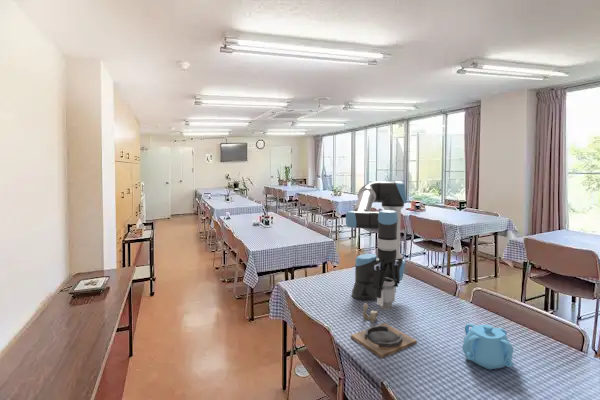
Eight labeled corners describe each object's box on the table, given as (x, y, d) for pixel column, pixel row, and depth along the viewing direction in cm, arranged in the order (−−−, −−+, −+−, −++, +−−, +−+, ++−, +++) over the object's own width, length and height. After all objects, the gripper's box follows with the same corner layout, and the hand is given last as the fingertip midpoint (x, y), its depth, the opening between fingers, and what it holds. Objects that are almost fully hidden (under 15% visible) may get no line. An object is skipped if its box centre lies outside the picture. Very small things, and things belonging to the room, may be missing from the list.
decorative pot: (513, 379, 112) (516, 342, 111) (461, 366, 120) (463, 330, 119) (509, 355, 127) (512, 321, 125) (463, 345, 134) (465, 313, 133)
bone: (385, 318, 154) (376, 303, 152) (376, 328, 152) (367, 312, 149) (374, 312, 162) (365, 297, 159) (365, 322, 160) (356, 306, 157)
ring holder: (384, 325, 151) (384, 319, 151) (416, 343, 136) (416, 336, 136) (350, 337, 141) (350, 331, 140) (381, 358, 125) (381, 351, 125)
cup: (391, 312, 132) (392, 283, 131) (375, 309, 135) (375, 281, 134) (396, 306, 138) (396, 278, 137) (380, 302, 141) (381, 275, 140)
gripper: (395, 243, 142) (394, 294, 145) (363, 249, 132) (362, 305, 134) (410, 246, 136) (408, 300, 138) (376, 254, 126) (376, 311, 128)
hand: (385, 302), depth 136 cm, fingers closed on cup, 6 cm apart
